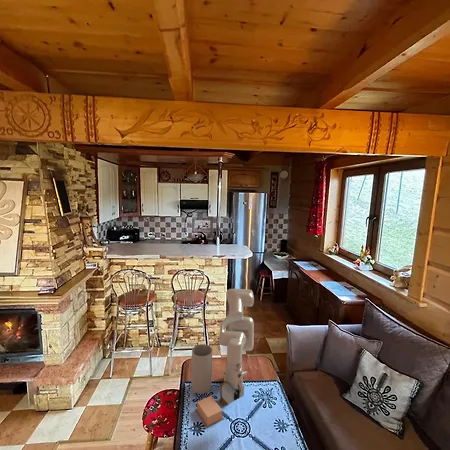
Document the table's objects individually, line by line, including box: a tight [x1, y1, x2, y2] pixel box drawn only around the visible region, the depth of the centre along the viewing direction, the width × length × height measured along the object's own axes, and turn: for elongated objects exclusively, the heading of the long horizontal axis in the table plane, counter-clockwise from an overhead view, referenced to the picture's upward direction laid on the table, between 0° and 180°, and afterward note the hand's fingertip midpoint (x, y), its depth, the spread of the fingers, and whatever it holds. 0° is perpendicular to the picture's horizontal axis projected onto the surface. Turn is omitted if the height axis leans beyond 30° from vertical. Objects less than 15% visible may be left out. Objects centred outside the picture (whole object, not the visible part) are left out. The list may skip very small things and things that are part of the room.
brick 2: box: [222, 383, 245, 405], centre depth 139 cm, size 10×6×6 cm, turn 125°
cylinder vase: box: [190, 344, 213, 395], centre depth 166 cm, size 12×12×25 cm
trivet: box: [194, 408, 225, 429], centre depth 147 cm, size 11×14×1 cm
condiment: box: [219, 380, 229, 406], centre depth 156 cm, size 7×8×12 cm
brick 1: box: [196, 395, 223, 426], centre depth 146 cm, size 12×9×5 cm
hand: (232, 394), depth 140 cm, fingers closed on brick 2, 6 cm apart
